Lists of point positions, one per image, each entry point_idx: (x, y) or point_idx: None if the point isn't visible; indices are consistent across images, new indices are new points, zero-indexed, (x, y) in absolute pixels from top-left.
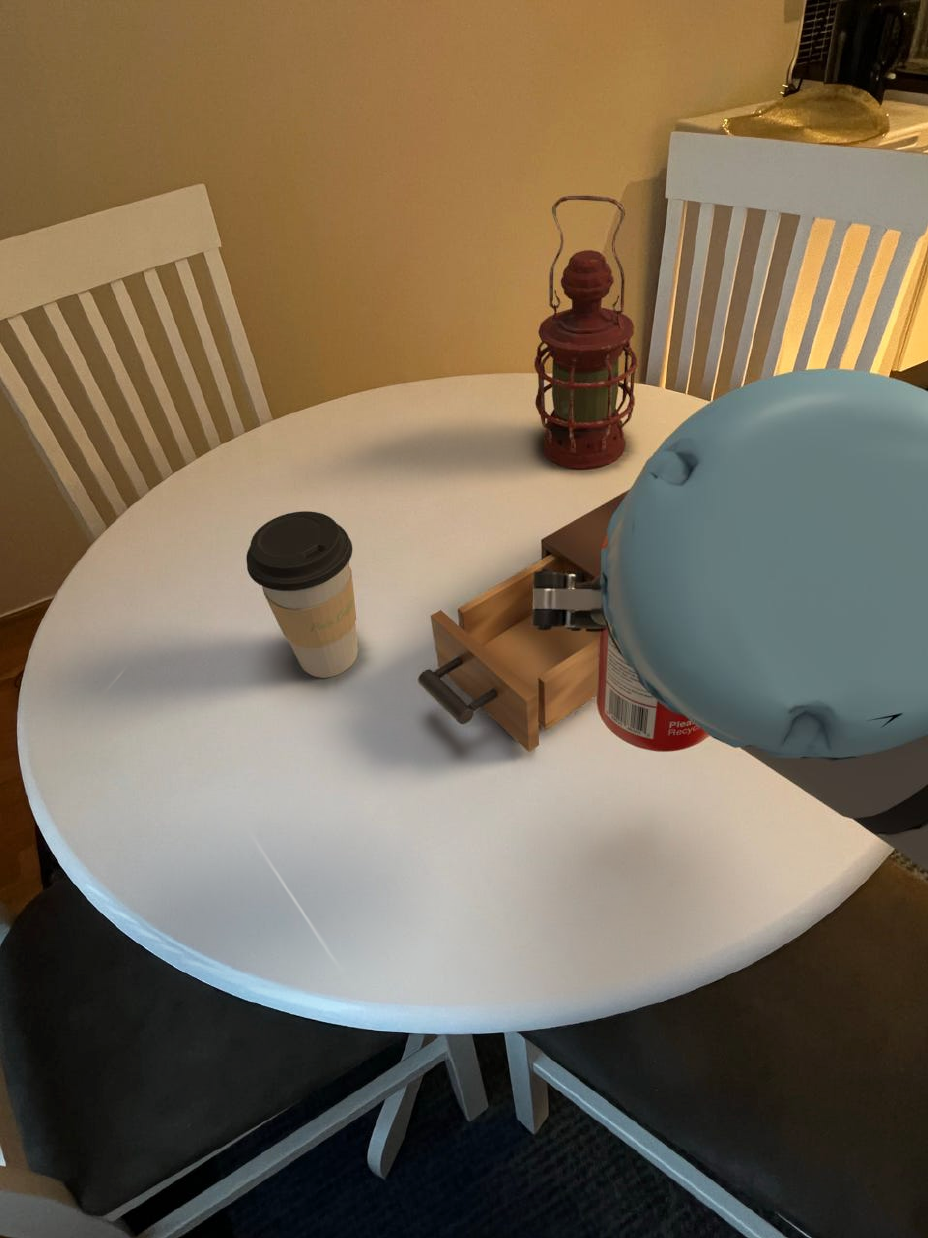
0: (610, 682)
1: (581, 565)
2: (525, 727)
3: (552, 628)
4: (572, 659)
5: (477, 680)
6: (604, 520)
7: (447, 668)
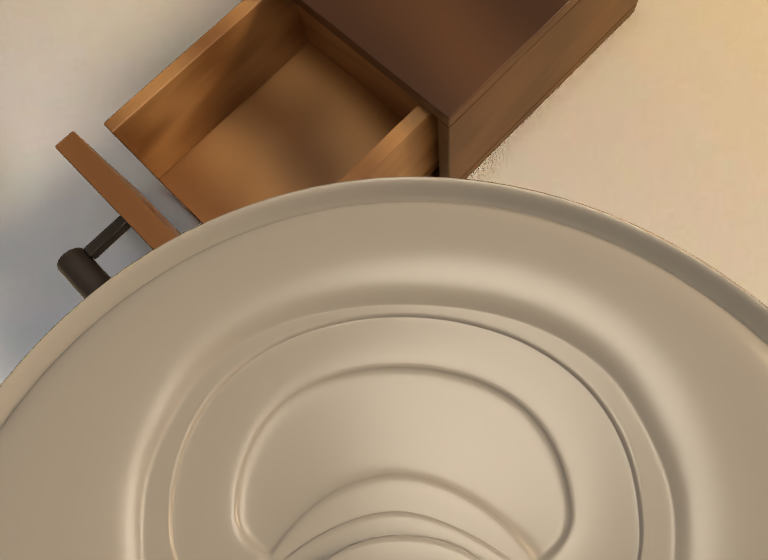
0: None
1: (316, 7)
2: None
3: (293, 111)
4: None
5: None
6: None
7: (105, 241)
